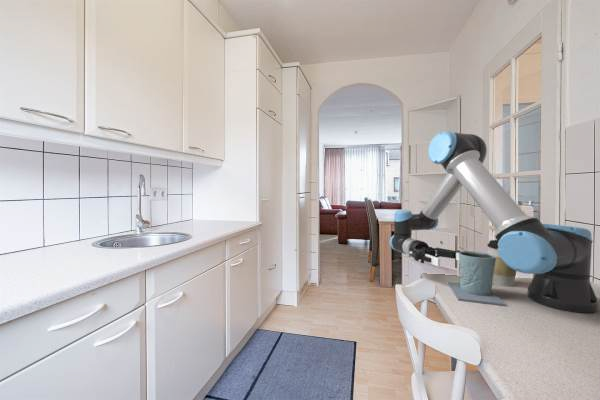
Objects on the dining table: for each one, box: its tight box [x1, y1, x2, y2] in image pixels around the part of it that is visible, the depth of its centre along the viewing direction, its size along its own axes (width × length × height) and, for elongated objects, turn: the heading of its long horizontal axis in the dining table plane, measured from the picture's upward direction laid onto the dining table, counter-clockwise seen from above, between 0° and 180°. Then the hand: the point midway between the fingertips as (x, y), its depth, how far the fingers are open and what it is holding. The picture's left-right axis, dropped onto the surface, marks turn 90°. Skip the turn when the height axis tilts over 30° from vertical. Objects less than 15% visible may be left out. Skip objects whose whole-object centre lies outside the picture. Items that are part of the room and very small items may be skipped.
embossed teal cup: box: [458, 250, 496, 296], centre depth 88 cm, size 10×10×12 cm
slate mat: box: [447, 281, 506, 307], centre depth 88 cm, size 12×16×1 cm
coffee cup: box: [487, 239, 518, 287], centre depth 97 cm, size 10×10×15 cm
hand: (455, 261), depth 94 cm, fingers open, 13 cm apart
